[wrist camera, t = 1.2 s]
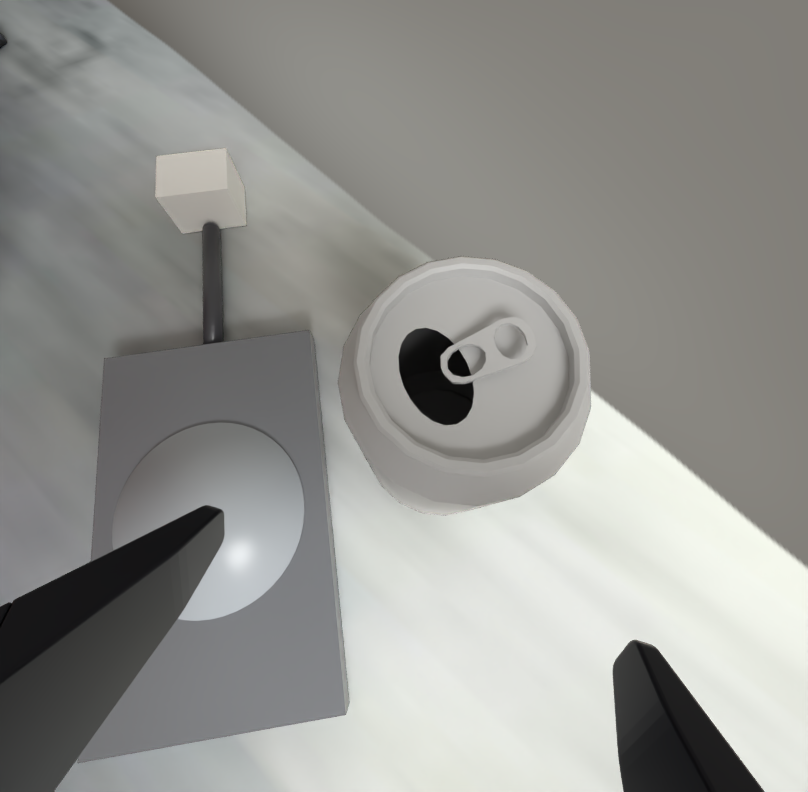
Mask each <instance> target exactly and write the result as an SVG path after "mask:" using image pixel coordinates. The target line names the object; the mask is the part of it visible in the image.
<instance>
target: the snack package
mask: <svg viewBox="0 0 808 792" xmlns="http://www.w3.org/2000/svg"><path fill="white" fill-rule="evenodd" d="M6 43H7V41H6V39H5V38H4V36H3V35H2V34H1V33H0V47H1V46H2V45H4V44H6Z"/></svg>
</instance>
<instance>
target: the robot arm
mask: <svg viewBox="0 0 808 792" xmlns="http://www.w3.org/2000/svg"><path fill="white" fill-rule="evenodd" d="M224 535H225V526H224V512H223V510H222V509H219V508H216V507H213V506H210V505H205V506H202V507H199V508H197V509H195V510H193V511H191V512H189V513H187V514H185V515H183V516H181V517H179V518H177V519H175V520H173V521H171V522H169V523H167V524H165V525H163V526H161V527H159V528H157V529H155V530H153V531H151V532H149V533H147V534H145V535H143V536H141V537H139V538H137V539H135V540H133V541H131V542H129V543H127V544H125V545H123V546H121V547H119V548H117V549H115V550H113V551H111V552H109V553H107V554H105V555H103V556H101V557H99V558H97V559H95V560H93V561H91V562H89V563H87V564H85V565H83V566H81V567H79V568H77V569H75V570H73V571H71V572H69V573H67V574H65V575H63V576H61V577H59V578H57V579H55V580H53V581H51V582H49V583H47V584H45V585H43V586H41V587H39V588H37V589H35V590H33V591H31V592H29V593H27V594H25V595H23V596H21V597H19V598H17V599H15V600H14V601H13V603H7V604H5V605H3V606H1V607H0V792H54V790H55V789H56V788H57V786H58V785H59V783H60V782H61V781H62V779H63V778H64V777H65V775H66V774H67V772H68V771H69V770H70V768H71V767H72V765H73V764H74V763H75V761H76V760H77V758H78V757H79V756H80V754H81V753H82V751H83V750H84V749H85V747H86V746H87V744H88V743H89V742H90V740H91V739H92V738H93V736H94V735H95V733H96V732H97V731H98V729H99V728H100V726H101V725H102V724H103V722H104V721H105V719H106V718H107V717H108V715H109V714H110V712H111V711H112V710H113V708H114V707H115V705H116V704H117V703H118V701H119V700H120V699H121V697H122V696H123V694H124V693H125V692H126V690H127V689H128V687H129V686H130V685H131V683H132V682H133V680H134V679H135V678H136V676H137V675H138V673H139V672H140V671H141V669H142V668H143V666H144V665H145V664H146V662H147V661H148V660H149V658H150V657H151V655H152V654H153V653H154V651H155V650H156V648H157V647H158V646H159V644H160V643H161V641H162V640H163V639H164V637H165V636H166V634H167V633H168V632H169V630H170V629H171V627H172V626H173V625H174V623H175V622H176V620H177V619H178V618H179V616H180V615H181V613H182V612H183V610H184V609H185V607H186V605H187V604H188V602H189V600H190V599H191V597H192V595H193V594H194V592H195V590H196V588H197V587H198V585H199V583H200V581H201V580H202V578H203V576H204V575H205V573H206V571H207V569H208V568H209V566H210V564H211V562H212V561H213V559H214V557H215V556H216V554H217V552H218V550H219V549H220V547H221V545H222V543H223V540H224ZM613 685H614V701H615V716H616V732H617V746H618V757H619V764H620V772H621V778H622V784H623V791H624V792H764V790H763V789H762V788H761V786H760V785H759V784H758V782H757V781H756V780H755V778H754V777H753V776H752V774H751V773H750V772H749V770H748V769H747V768H746V766H745V765H744V764H743V762H742V761H741V760H740V758H739V757H738V756H737V754H736V753H735V752H734V750H733V749H732V748H731V746H730V745H729V744H728V742H727V741H726V740H725V738H724V737H723V736H722V734H721V733H720V732H719V730H718V729H717V728H716V726H715V725H714V724H713V722H712V721H711V720H710V718H709V717H708V716H707V714H706V713H705V712H704V710H703V709H702V708H701V706H700V705H699V704H698V702H697V701H696V700H695V698H694V697H693V696H692V694H691V693H690V692H689V690H688V689H687V688H686V686H685V685H684V684H683V682H682V681H681V680H680V678H679V677H678V676H677V674H676V673H675V672H674V670H673V669H672V668H671V666H670V665H669V664H668V662H667V661H666V660H665V658H664V657H663V656H662V654H661V653H660V652H659V650H658V649H657V648H656V647H654V646H653V645H651V644H648V643H645V642H641V641H638V640H632V641H630V642H629V643H628V645H627V646H626V647H625V648H624V650H623V651H622V652H621V654H620V655H619V656H618V657H617V659H616V660H615V662H614V665H613Z"/></svg>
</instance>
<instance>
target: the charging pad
mask: <svg viewBox="0 0 808 792" xmlns="http://www.w3.org/2000/svg"><path fill="white" fill-rule="evenodd" d="M155 198H156V199H157V201H158V202H159V203H160V205H161V206H162V207H163V209H164V210H165V211H166V212H167V214H168V215H169V216H170V218H171V219H172V220H173V222H174V223H175V224H176V226H177V227H178V228H179V230H180V231H181V232H182V234H184V233H192V232H199V231H202V247H203V339H204V345H198V346H191V347H184V348H176V349H169V350H162V351H155V352H148V353H140V354H133V355H126V356H119V357H112V358H104V370H103V385H102V400H101V416H100V431H99V446H98V461H97V476H96V491H95V507H94V522H93V537H92V552H91V561H93V560H95V559H97V558H99V557H101V556H103V555H105V554H107V553H109V552H111V551H113V550H115V549H117V548H119V547H121V546H123V545H125V544H127V543H129V542H131V541H133V540H135V539H137V538H139V537H141V536H143V535H145V534H147V533H149V532H151V531H153V530H155V529H157V528H159V527H161V526H163V525H165V524H167V523H169V522H171V521H173V520H175V519H177V518H179V517H181V516H183V515H185V514H187V513H189V512H191V511H193V510H195V509H197V508H199V507H202V506H205V505H210V506H213V507H216V508H219V509H222V510H223V512H224V526H225V535H224V540H223V543H222V545H221V547H220V549H219V550H218V552H217V554H216V556H215V557H214V559H213V561H212V562H211V564H210V566H209V568H208V569H207V571H206V573H205V575H204V576H203V578H202V580H201V581H200V583H199V585H198V587H197V588H196V590H195V592H194V594H193V595H192V597H191V599H190V600H189V602H188V604H187V605H186V607H185V609H184V610H183V612H182V613H181V615H180V616H179V618H178V619H177V620H176V622H175V623H174V625H173V626H172V627H171V629H170V630H169V632H168V633H167V634H166V636H165V637H164V639H163V640H162V641H161V643H160V644H159V646H158V647H157V648H156V650H155V651H154V653H153V654H152V655H151V657H150V658H149V660H148V661H147V662H146V664H145V665H144V666H143V668H142V669H141V671H140V672H139V673H138V675H137V676H136V678H135V679H134V680H133V682H132V683H131V685H130V686H129V687H128V689H127V690H126V692H125V693H124V694H123V696H122V697H121V699H120V700H119V701H118V703H117V704H116V705H115V707H114V708H113V710H112V711H111V712H110V714H109V715H108V717H107V718H106V719H105V721H104V722H103V724H102V725H101V726H100V728H99V729H98V731H97V732H96V733H95V735H94V736H93V738H92V739H91V740H90V742H89V743H88V744H87V746H86V747H85V749H84V750H83V751H82V753H81V754H80V756H79V757H78V763H81V762H86V761H92V760H97V759H103V758H109V757H114V756H120V755H125V754H131V753H136V752H142V751H148V750H153V749H159V748H164V747H170V746H175V745H181V744H187V743H192V742H198V741H203V740H209V739H214V738H220V737H226V736H231V735H237V734H242V733H248V732H253V731H259V730H264V729H270V728H276V727H281V726H287V725H292V724H298V723H303V722H309V721H315V720H320V719H326V718H331V717H337V716H342V715H346V713H347V709H348V706H349V694H348V684H347V673H346V663H345V653H344V643H343V632H342V622H341V612H340V602H339V591H338V581H337V571H336V561H335V550H334V540H333V530H332V520H331V509H330V499H329V489H328V478H327V468H326V458H325V448H324V437H323V427H322V417H321V407H320V396H319V386H318V376H317V366H316V355H315V345H314V339H313V336H312V334H311V332H310V330H306V331H299V332H291V333H284V334H277V335H270V336H263V337H255V338H248V339H241V340H234V341H227V342H223V318H222V279H221V241H220V229H223V228H231V227H239V226H247V221H246V201H245V187H244V185H243V183H242V181H241V178H240V176H239V174H238V172H237V170H236V168H235V166H234V164H233V161H232V159H231V157H230V155H229V153H228V151H227V149H226V148H220V149H212V150H203V151H195V152H186V153H178V154H170V155H161V156H156V189H155Z"/></svg>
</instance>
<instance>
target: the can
mask: <svg viewBox="0 0 808 792" xmlns="http://www.w3.org/2000/svg"><path fill="white" fill-rule="evenodd" d="M338 385H339V391H340V397H341V403H342V408H343V414H344V420H345V422H346V423H347V425H348V427H349V429H350V431H351V433H352V434H353V436H354V438H355V440H356V442H357V443H358V445H359V447H360V449H361V451H362V453H363V454H364V456H365V458H366V460H367V461H368V463H369V465H370V467H371V468H372V470H373V472H374V474H375V475H376V477H377V479H378V481H379V482H380V484H381V486H382V487H383V488H384V489H385V490H386V491H387V492H388V493H389V494H391V495H392V496H393V497H394V498H395V499H396V500H397V501H398V502H399V503H401V504H403V505H405V506H407V507H410V508H412V509H414V510H416V511H418V512H421V513H427V514H436V515H445V516H446V515H450V514H455V513H459V512H464V511H468V510H472V509H476V508H480V507H484V506H487V505H491V504H495V503H499V502H502V501H506V500H510V499H514V498H517V497H520V496H522V495H524V494H525V493H527V492H528V491H530V490H532V489H533V488H535V487H536V486H538V485H540V484H541V483H543V482H544V481H546V480H548V479H549V478H551V477H552V476H554V475H555V474H556V473H557V472H558V470H559V469H560V468H561V466H562V465H563V464H564V463H565V461H566V460H567V459H568V458H569V456H570V455H571V454H572V452H573V451H574V450H575V449H576V447H577V446H578V445H579V443H580V440H581V437H582V434H583V431H584V428H585V425H586V422H587V418H588V415H589V412H590V409H591V386H590V353H589V349H588V346H587V343H586V341H585V338H584V335H583V333H582V330H581V327H580V325H579V322H578V320H577V318H576V316H575V315H574V314H573V313H572V311H571V310H570V309H569V307H568V306H567V305H566V304H565V303H564V301H563V300H562V298H561V297H560V296H559V295H558V293H557V292H556V291H555V290H553V289H552V288H551V287H549V286H548V285H546V284H545V283H543V282H542V281H541V280H539V279H538V278H537V277H535V276H534V275H532V274H531V273H530V272H528V271H526V270H524V269H521V268H518V267H515V266H513V265H510V264H507V263H505V262H502V261H499V260H496V259H489V258H478V257H467V256H458V257H453V258H447V259H442V260H436V261H431V262H427V263H425V264H423V265H421V266H419V267H417V268H415V269H413V270H411V271H409V272H407V273H405V274H403V275H401V276H399V277H397V278H396V279H395V280H394V281H393V282H392V283H391V284H390V285H389V286H388V287H387V288H386V289H385V290H384V291H383V292H382V293H381V294H380V295H378V296H377V297H376V298H375V299H374V301H373V302H372V304H371V305H370V306H369V307H368V308H367V309H365V310H364V311H363V312H362V313H361V314H360V316H359V318H358V320H357V322H356V324H355V326H354V328H353V329H352V331H351V333H350V335H349V337H348V339H347V341H346V343H345V344H344V348H343V354H342V360H341V366H340V372H339V378H338Z"/></svg>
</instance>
